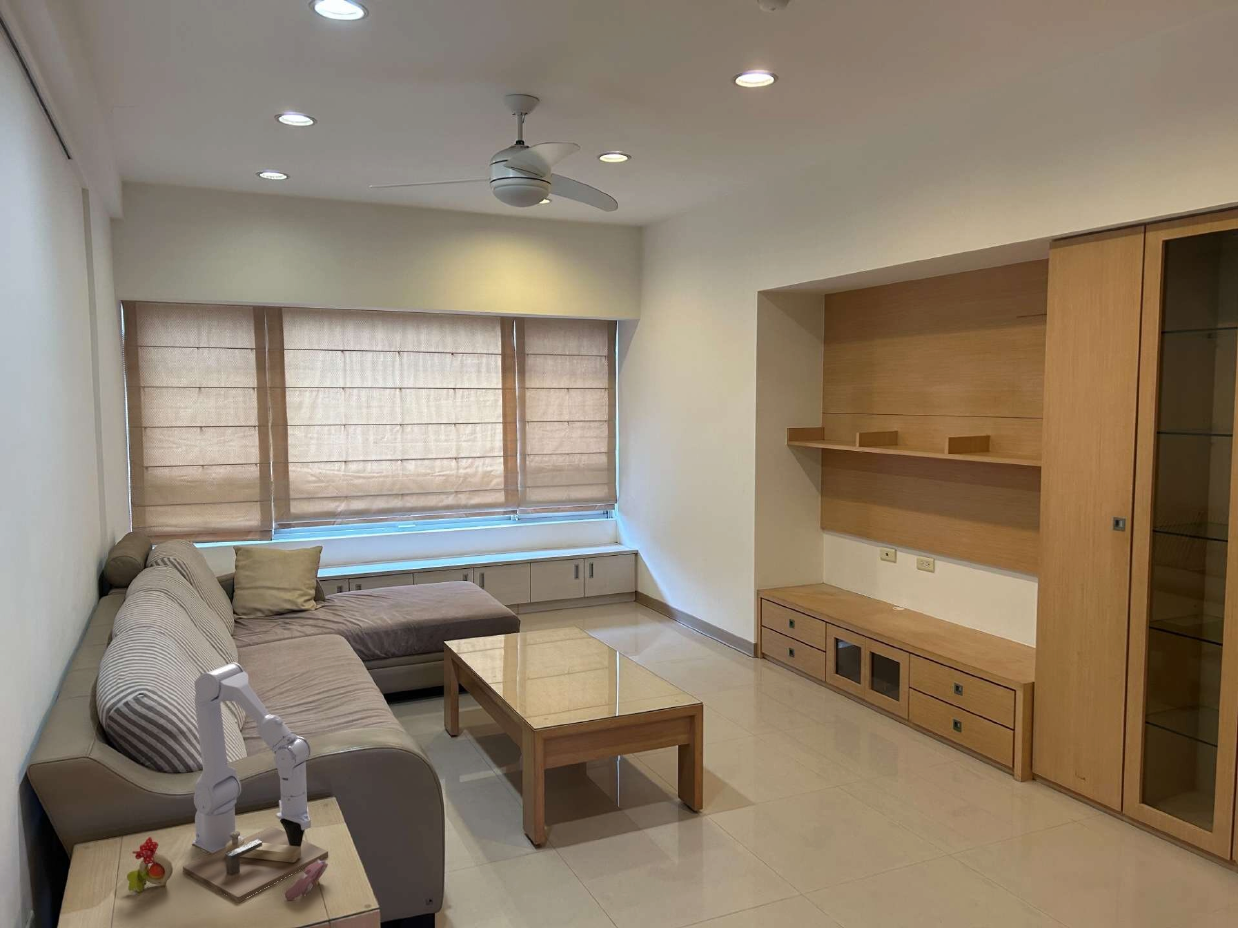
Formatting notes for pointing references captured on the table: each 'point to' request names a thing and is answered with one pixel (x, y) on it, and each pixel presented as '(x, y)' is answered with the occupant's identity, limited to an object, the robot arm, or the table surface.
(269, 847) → the wooden link
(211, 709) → the robot arm
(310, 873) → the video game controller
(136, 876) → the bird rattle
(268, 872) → the walnut board
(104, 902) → the table surface
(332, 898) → the table surface
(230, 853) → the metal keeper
